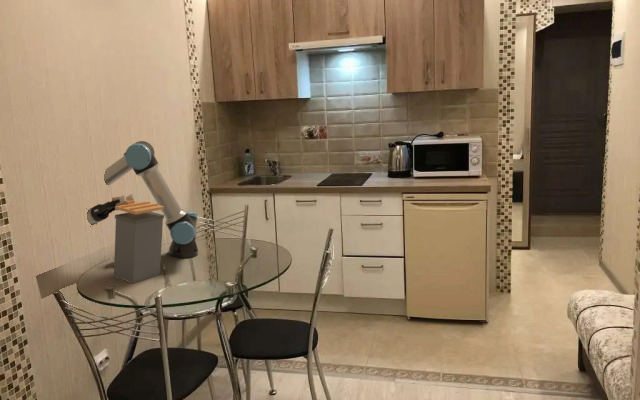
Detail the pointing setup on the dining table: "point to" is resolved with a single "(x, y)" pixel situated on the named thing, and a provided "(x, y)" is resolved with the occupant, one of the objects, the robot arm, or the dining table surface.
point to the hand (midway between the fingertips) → (129, 197)
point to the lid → (137, 206)
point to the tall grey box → (138, 245)
